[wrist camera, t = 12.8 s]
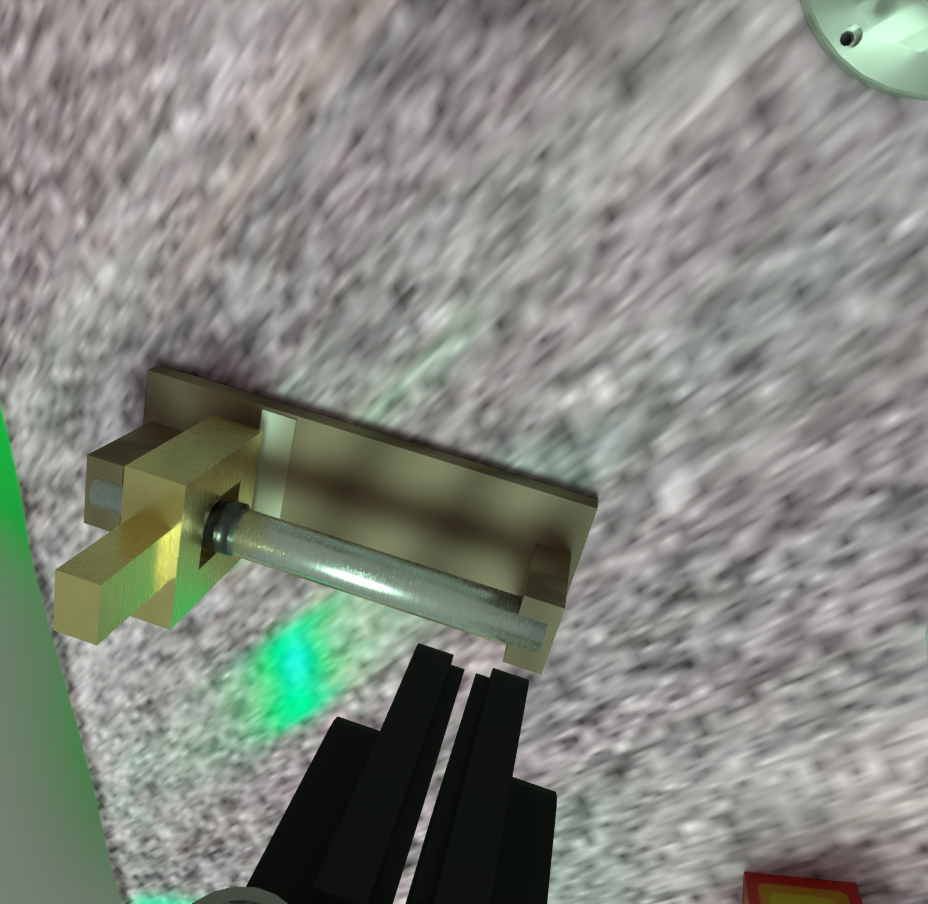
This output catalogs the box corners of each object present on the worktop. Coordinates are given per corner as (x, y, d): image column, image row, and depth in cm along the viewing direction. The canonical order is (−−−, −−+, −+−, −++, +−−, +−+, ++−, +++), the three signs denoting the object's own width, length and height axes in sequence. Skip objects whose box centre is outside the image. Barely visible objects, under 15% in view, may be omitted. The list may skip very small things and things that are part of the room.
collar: (262, 431, 40) (115, 535, 28) (244, 554, 43) (104, 695, 31) (212, 415, 40) (45, 512, 29) (197, 539, 44) (41, 673, 32)
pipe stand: (598, 499, 40) (594, 558, 34) (546, 645, 44) (534, 723, 38) (159, 365, 43) (80, 397, 36) (146, 514, 46) (73, 567, 40)
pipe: (554, 592, 37) (550, 622, 35) (539, 636, 38) (533, 669, 36) (122, 453, 40) (88, 472, 37) (119, 498, 41) (85, 520, 38)
